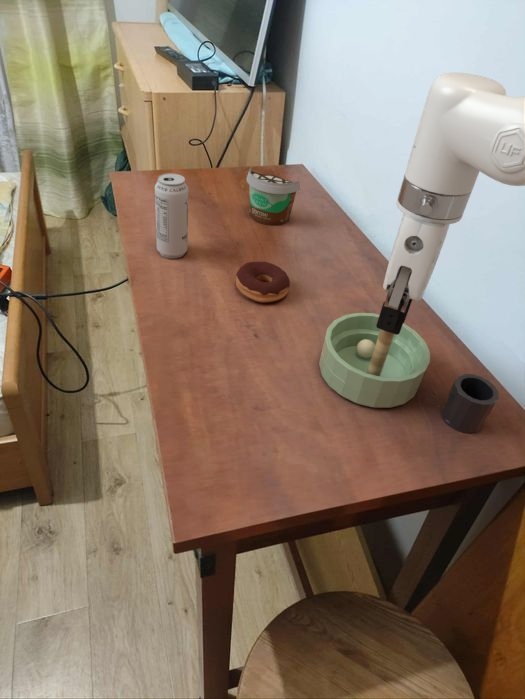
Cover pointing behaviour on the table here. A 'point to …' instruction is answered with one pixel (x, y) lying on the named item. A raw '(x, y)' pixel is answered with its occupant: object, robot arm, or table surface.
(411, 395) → the bowl
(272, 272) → the donut
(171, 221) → the energy drink can
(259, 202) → the food container
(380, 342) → the stick
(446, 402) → the holder
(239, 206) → the table surface
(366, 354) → the ball
